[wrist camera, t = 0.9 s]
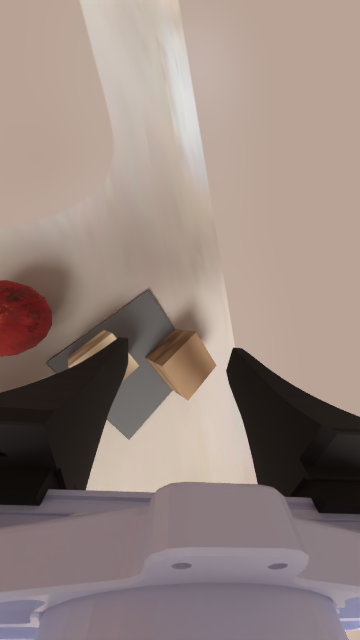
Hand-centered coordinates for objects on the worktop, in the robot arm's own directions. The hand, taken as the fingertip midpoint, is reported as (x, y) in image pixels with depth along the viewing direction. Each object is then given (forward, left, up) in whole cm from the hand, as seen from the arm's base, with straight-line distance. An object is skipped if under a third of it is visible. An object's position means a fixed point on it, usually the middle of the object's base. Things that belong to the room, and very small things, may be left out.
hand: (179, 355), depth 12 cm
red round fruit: (-7, +8, -13) cm, 17 cm away
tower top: (+3, -7, -10) cm, 12 cm away
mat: (-1, -4, -13) cm, 13 cm away
